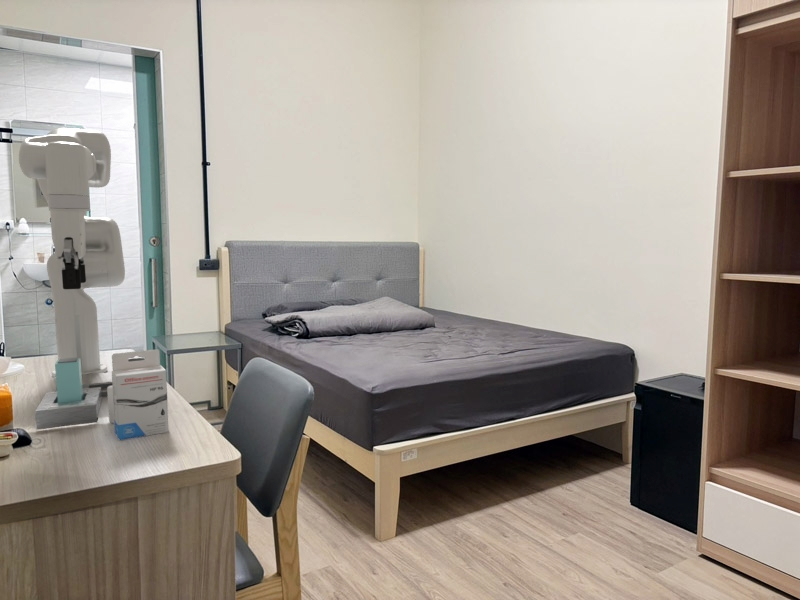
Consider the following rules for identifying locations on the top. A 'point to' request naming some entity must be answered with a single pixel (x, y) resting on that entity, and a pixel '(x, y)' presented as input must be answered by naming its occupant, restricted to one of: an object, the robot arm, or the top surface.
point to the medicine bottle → (110, 396)
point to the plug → (69, 380)
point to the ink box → (139, 395)
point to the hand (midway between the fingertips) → (75, 285)
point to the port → (68, 410)
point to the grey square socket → (102, 385)
